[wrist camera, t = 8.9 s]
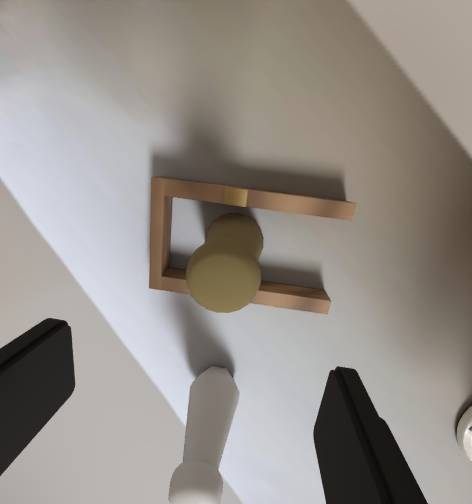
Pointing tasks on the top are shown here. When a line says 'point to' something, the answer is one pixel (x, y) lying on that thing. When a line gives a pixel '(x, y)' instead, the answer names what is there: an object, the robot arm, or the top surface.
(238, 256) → the pepper shaker
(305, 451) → the top surface
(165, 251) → the wooden u-shaped frame
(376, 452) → the robot arm
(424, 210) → the top surface
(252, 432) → the top surface
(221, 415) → the salt shaker
